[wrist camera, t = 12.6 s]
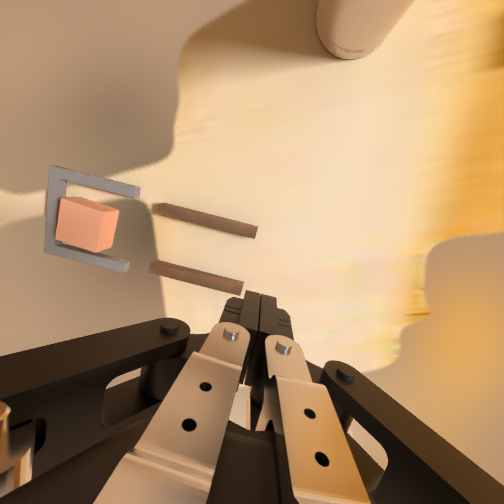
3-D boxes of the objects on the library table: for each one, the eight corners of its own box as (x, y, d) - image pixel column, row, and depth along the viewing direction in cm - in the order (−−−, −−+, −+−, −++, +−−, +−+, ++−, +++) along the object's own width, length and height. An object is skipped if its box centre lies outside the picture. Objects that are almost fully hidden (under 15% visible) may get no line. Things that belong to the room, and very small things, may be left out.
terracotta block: (81, 197, 40) (61, 197, 36) (119, 210, 40) (103, 212, 36) (75, 234, 41) (54, 239, 37) (112, 246, 41) (95, 252, 37)
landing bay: (57, 166, 39) (49, 165, 37) (140, 187, 39) (135, 187, 37) (51, 250, 42) (44, 252, 40) (128, 269, 42) (123, 272, 40)
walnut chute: (165, 202, 39) (160, 203, 37) (257, 226, 39) (257, 228, 37) (154, 268, 42) (148, 272, 40) (241, 290, 41) (240, 295, 40)
